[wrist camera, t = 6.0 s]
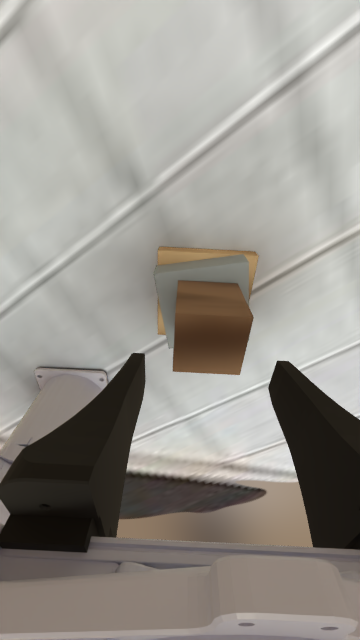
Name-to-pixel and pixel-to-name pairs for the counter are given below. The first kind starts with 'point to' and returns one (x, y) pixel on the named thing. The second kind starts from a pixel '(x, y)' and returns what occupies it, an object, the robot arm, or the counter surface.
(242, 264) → the gray slab
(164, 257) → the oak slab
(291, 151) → the counter surface
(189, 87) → the counter surface
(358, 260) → the counter surface
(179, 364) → the walnut block
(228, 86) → the counter surface
